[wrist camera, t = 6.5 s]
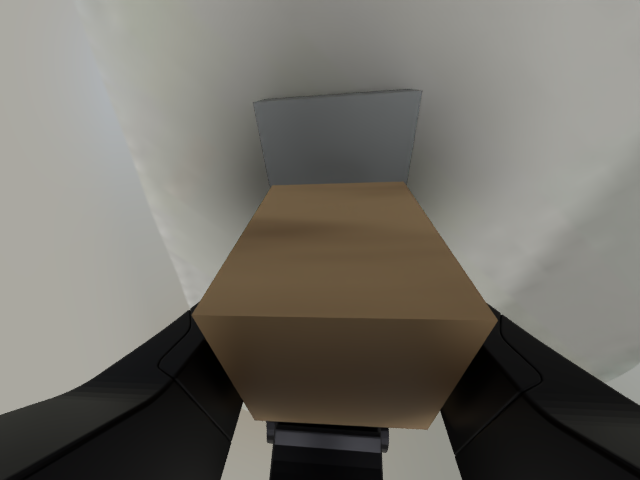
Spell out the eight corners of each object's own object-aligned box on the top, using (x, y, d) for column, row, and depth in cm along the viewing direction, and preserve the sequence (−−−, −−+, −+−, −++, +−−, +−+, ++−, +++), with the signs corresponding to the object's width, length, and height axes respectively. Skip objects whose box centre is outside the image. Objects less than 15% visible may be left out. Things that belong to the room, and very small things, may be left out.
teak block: (387, 278, 11) (427, 429, 6) (289, 277, 12) (254, 420, 7) (403, 181, 8) (498, 320, 3) (272, 185, 9) (190, 315, 4)
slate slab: (388, 225, 20) (396, 245, 17) (288, 227, 21) (281, 247, 18) (407, 88, 14) (422, 90, 12) (266, 98, 15) (252, 102, 12)
